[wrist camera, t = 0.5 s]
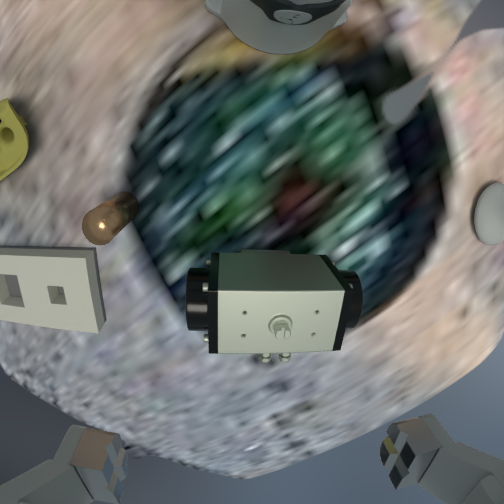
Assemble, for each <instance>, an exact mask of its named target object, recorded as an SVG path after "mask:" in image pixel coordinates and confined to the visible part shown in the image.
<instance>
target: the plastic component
mask: <svg viewBox="0 0 504 504" xmlns="http://www.w3.org/2000/svg"><path fill="white" fill-rule="evenodd" d="M0 119H1V121H2V123H1V122H0V181H1V180H2V179H3V178H5V177H6V176H8V175H9V174H10V173H11V172H13V171H14V170H15V169H16V168H18V166H19V165H20V164H21V163H22V162H23V161H24V159H25V157H26V155H27V152H28V148H29V136H28V132H27V130H26V128H25V126H26V125H27V123H26V122H25V121H24V119H23V116H21V117H20V116H18V115H17V113H16V112H15V110H14V109H13V107H12V105H11V103H10V101H9V99H8V98H6V99H3V100H2V101H0Z"/></svg>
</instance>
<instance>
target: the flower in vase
mask: <svg viewBox="0 0 504 504" xmlns="http://www.w3.org/2000/svg"><path fill="white" fill-rule="evenodd" d="M474 224H475V230H476V233H477V235H478V238H479V239H480V240H481V242H483V243H484V244H486V245H496V244H498V243H500V242H501V241H503V240H504V184H502V183H493V184H491V185H490V186H488V187H487V188H486V189H485V190H484V191H483V192H482V194H481V195H480V197H479V199H478V202H477V205H476V209H475V214H474Z"/></svg>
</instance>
